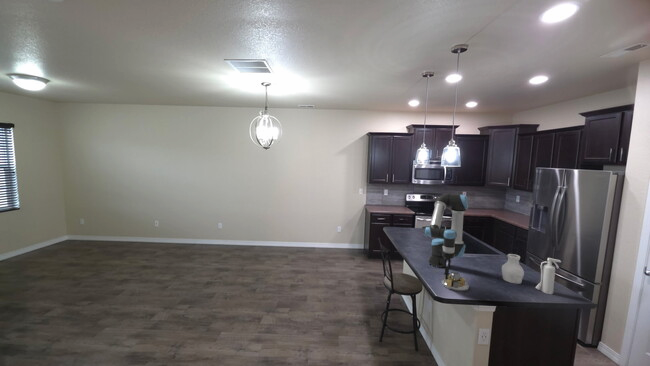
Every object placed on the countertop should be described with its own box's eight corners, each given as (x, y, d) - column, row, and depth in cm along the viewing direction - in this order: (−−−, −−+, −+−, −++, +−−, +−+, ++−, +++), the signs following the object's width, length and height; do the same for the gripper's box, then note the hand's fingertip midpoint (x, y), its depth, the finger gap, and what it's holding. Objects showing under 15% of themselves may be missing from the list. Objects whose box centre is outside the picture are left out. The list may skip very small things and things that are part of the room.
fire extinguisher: (533, 287, 190) (537, 255, 187) (554, 291, 184) (559, 258, 182) (536, 291, 183) (540, 258, 181) (557, 296, 178) (563, 261, 176)
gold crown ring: (457, 289, 178) (458, 282, 178) (440, 283, 187) (440, 276, 187) (467, 283, 189) (467, 276, 188) (450, 277, 198) (450, 271, 198)
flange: (437, 284, 190) (438, 272, 190) (447, 277, 202) (448, 266, 202) (462, 294, 177) (463, 281, 176) (472, 286, 189) (473, 274, 188)
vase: (496, 277, 205) (498, 253, 204) (508, 275, 211) (509, 251, 209) (516, 285, 192) (518, 259, 190) (527, 282, 198) (529, 257, 196)
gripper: (443, 248, 192) (441, 278, 194) (441, 253, 181) (439, 285, 183) (454, 250, 188) (452, 280, 190) (453, 255, 177) (451, 288, 179)
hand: (446, 282), depth 187 cm, fingers closed
